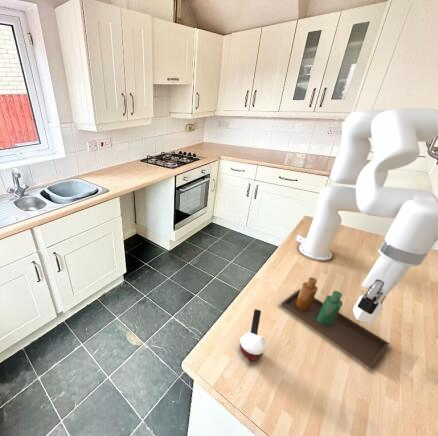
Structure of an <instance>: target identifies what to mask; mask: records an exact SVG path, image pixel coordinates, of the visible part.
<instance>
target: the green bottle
mask: <svg viewBox="0 0 438 436" xmlns="http://www.w3.org/2000/svg"><path fill="white" fill-rule="evenodd" d="M342 297H343V293H342V292H340V291H338V290H334V291H333V292H332V293H331V295H327V296H325V299H324V300H323V302H322V303H323V305H322V307H321V309H320V311H319V313H318V315H317V320H318V322H319V323H321V324H322V325H324V326H331V325H332V324H333V322H334V320H335V318H336V316H337V314H338V313H340V311H341V309H342V307H343V305H344V303H343V301H342V300H341V299H342Z"/></svg>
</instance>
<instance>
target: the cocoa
mask: <svg viewBox="0 0 438 436" xmlns="http://www.w3.org/2000/svg"><path fill="white" fill-rule="evenodd" d="M261 313H262V311H261V309H256V308H255V309H254V310H253V316H252V320H251V327H250V331H249V332H246V333H244V334H243V336H241V337H240V340H239V348H240V352H241V354H242V355H243V356H244V358H246V359H247V360H248V361H249V363H250V364H253V361H258V360H259V359H260V358H262V356H263V354H264V352H265V337H263V336H262V335H260V334H258V332H259V325H260V319H261Z"/></svg>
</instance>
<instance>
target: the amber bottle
mask: <svg viewBox="0 0 438 436" xmlns="http://www.w3.org/2000/svg"><path fill="white" fill-rule="evenodd" d="M317 283H318V279H316V278H315V277H313V276H311V277H309V278H308V280H307V281H304V282H303V283H302V285H301V287H300V289H301V290H300V292H299V295H298V297H297V300H296V302H295V305H296V307H297V308H298V309H300V310H302V311H308V310H309V308H310V306H311V304H312V302H313V299H314V298H316V295H317V293H318V289H319V288H318V287H317Z"/></svg>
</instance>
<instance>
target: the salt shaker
mask: <svg viewBox="0 0 438 436" xmlns="http://www.w3.org/2000/svg"><path fill="white" fill-rule="evenodd" d="M379 292H382V291H380V290H379ZM364 295H365V294H363V295H359V297H358V299H357V300H356V303H355V304H354V306H353V308H352V312H353V315H354V318H355V319H356V320H357V321H359V322H362V323H363V322H364V323H368V324H374V323H375V322H376V320H377V319H378V317H379V316H380V314H381V312H382V311H383V309H384V308H383V305H382V303H383V302H382V300H383V299H384V297H385V296H384V297H381V298H380V300H379V301H378V303H379V304H378V306H377V307H376V309H375V310H374V312H373V313H372V314H369V313H367V312H365V311H364V310H362V309H360V308H358V307H357V306H358V304H359V302H360V300H361V299H362V297H363V296H364ZM375 297H376V298H377V297H378V294H376V296H375ZM385 298H386V297H385ZM384 300H385V299H384ZM384 300H383V301H384ZM380 302H382V303H380Z"/></svg>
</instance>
